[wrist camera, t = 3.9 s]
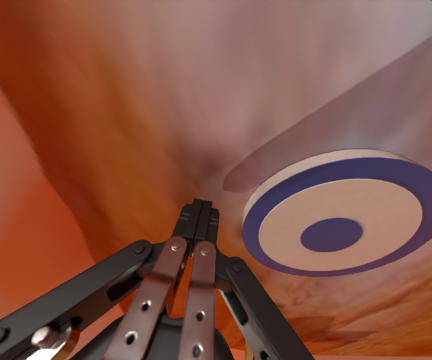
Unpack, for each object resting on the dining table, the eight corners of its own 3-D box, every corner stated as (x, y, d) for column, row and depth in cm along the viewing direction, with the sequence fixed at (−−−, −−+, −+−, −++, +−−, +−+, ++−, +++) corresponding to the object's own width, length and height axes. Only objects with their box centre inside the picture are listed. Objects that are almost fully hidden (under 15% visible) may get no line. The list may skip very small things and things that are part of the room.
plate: (494, 169, 10) (529, 182, 8) (350, 273, 18) (358, 287, 16) (270, 131, 10) (275, 139, 8) (229, 252, 18) (228, 264, 17)
